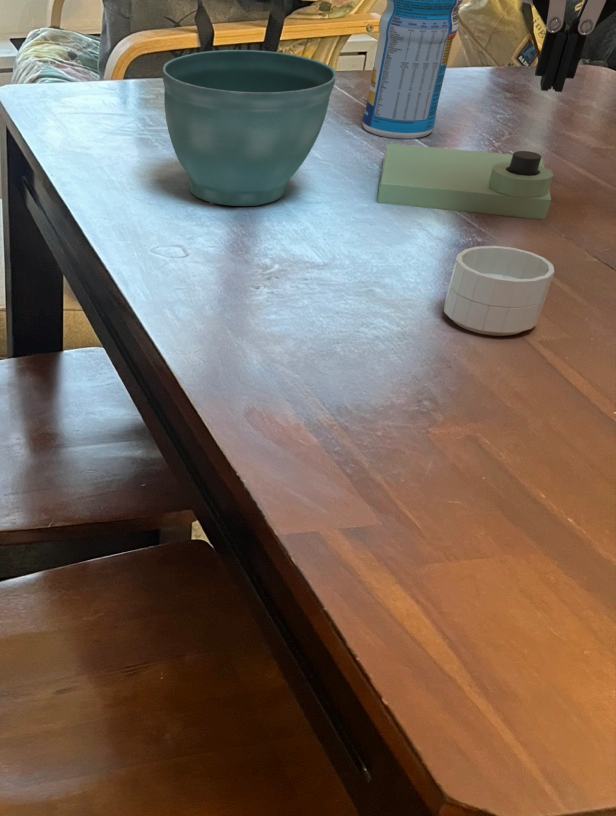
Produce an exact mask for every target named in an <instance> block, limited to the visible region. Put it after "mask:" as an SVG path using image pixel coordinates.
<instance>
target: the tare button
mask: <svg viewBox="0 0 616 816" xmlns="http://www.w3.org/2000/svg"><path fill="white" fill-rule="evenodd" d="M512 155H513V156H512V160H511V163H510V167H509V170H508V172H510V173H513V174H517V175H524V176H534V175H536V174H537V170H538V167H539V164H540V160H541V157H542V155H541V154H539V153H537V152H534V151H528V150H517V151H514V152H513V153H512Z"/></svg>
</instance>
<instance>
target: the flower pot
mask: <svg viewBox="0 0 616 816" xmlns="http://www.w3.org/2000/svg"><path fill="white" fill-rule="evenodd" d="M337 75H338V74H337V71H336V69H335V68H333V67H332V66H330V65H328V64H327V63H325V62H322V61H320V60H317V59H314V58H309V57H306V56H303V55H297V54H292V53H286V52H278V51H270V50H269V51H268V50H255V49H221V50H220V49H219V50H208V51H207V50H206V51H199V52H193V53H190V54H185V55H182V56H178V57H175V58H172V59H171V60H168V61H167V62H165V64H164V65H162V82H163V86H164V97H163V98H164V102H163V104H164V114H165V121H166V127H167V132H168V135H169V138H170V141H171V145H172V148H173V150H174V153H175V155H176V158H177V160H178V161H179V162H178V163H179V164H180V166H181V167H182V169H183V170H184V172H185V174H186V175H187V178H188V187H189V191H190V193H191V194H192V195H193V196H195V197H196V198H198V199H200V200H202V201H205V202H209V203H213V204H216V205H223V206H231V207H250V206H251V207H252V206H254V207H258V206H260V205H266V204H269V203H273V202H275V201H278V200H279V199H281V198H282V197H283V195H284V194H285V191H286V187H287V184H288V182H289V181H290V179H291V178H292V177H293V176H294V175H295V174H296V172H297V171H298V170H299V169H300V167H301V166H302V165H303V163H304V162H305V160H306V159H307V157H308V156H309V155H310V152H311V151H312V149H313V147H314V145H315V143H316V141H317V139H318V137H319V135H320V132H321V130H322V127H323V125H324V122H325V118H326V115H327V111H328V107H329V103H330V98H331V94H332V91H333V89H334V88H335V87H334V86H335V83H336V78H337Z"/></svg>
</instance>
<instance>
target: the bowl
mask: <svg viewBox="0 0 616 816" xmlns="http://www.w3.org/2000/svg"><path fill="white" fill-rule="evenodd" d="M554 274H555V267H554V264H553V263H551V262H550V261H549V260H548V259H547V258H546V257H543V256H541V255H539V254H536V253H534V252H532V251H528V250H524V249H521V248H520V249H519V248H516V247H510V246H499V245H479V246H473V247H469V248H465V249H463V250H462V251H460V252H458V253H457V254H456V257H455V262H454V265H453V269H452V273H451V277H450V281H449V285H448V287H447V292H446V295H445V299H444V303H443V312H444V314H445V315H446V316H447V317H448V318H449V319H450V320H451V321H452V322H453V323H454V324H456V325H457V326H458V327H459V328H462V329H464V330H467V331H469V332H471V333H472V332H473V333H475V334H479V335H484V336H485V335H486V336H495V337H496V336H497V337H502V336H503V337H504V336H505V337H507V336H513V335H518V334H520V333H522V332H525V331H528V330H531V329H533V328H534V327H535V326H536V325H537V324H538V323H539V320H540V317H541V314H542V311H543V308H544V305H545V302H546V299H547V296H548V292H549V290H550V286H551V284H552V280H553V277H554Z"/></svg>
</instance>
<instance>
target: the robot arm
mask: <svg viewBox="0 0 616 816" xmlns="http://www.w3.org/2000/svg"><path fill="white" fill-rule="evenodd" d="M519 1H520V2H523V3H525V4H528V5H531V6H534V8H535V10H536V11H537V14H538V16H539V17H540V19H541V21H542V22H543V24H544V25H545V28H546V30H545V33H544V38H543V41H542V45H541V48H540V51H539V56H538V58H537V59H538V60H537V63H536V67H535V71H534V76H535V77H541V78H540V82H539V85H540V90H541V92H542V91H543V92H549V90H552V91H553V90H554V92H555V93H562V92H563V89H564V86H565V83H566V79H571V80H574V78H575V76H576V73H577V69H578V67H579V63H580V60H581V56H582V53H583V50H584V45H585V44H586V40H587V36H588V35H589V34H591V33H592V32H593V31H594V29H595V28H596V27H598V26H599V25H600V24H601V23H602V22H604V21H605V20H607V19H608V18H610V16H612V15H613V14H614V13H616V0H583V2H582V4H581V7H580V9H579V11H578V14H577V16H576V17H575V18H574V19H572V21H571V24H570V26H569V28H568V29H566V26H567V22H566V19H565V12H566V6H567V0H519Z"/></svg>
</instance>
